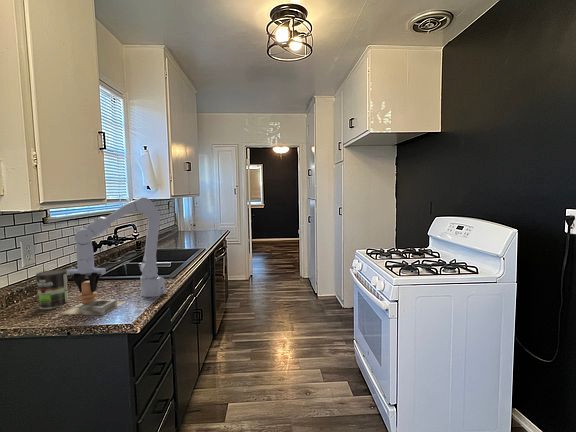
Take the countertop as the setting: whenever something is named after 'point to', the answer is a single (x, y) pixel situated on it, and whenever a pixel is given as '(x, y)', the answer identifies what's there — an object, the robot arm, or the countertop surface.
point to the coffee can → (52, 288)
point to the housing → (94, 307)
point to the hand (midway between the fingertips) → (88, 291)
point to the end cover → (87, 293)
